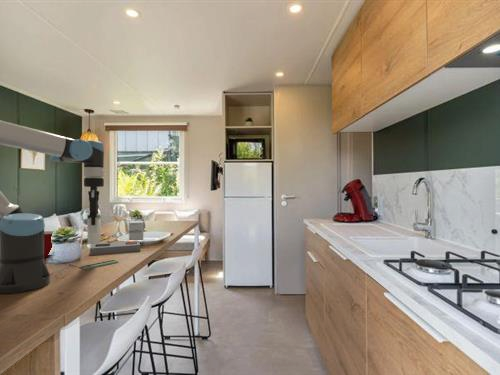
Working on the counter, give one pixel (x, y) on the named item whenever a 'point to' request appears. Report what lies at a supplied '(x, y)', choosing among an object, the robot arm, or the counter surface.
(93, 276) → the counter surface
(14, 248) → the robot arm
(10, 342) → the counter surface
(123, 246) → the dock
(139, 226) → the supplement box
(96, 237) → the block
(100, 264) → the mat
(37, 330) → the counter surface
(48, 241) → the plastic cup
